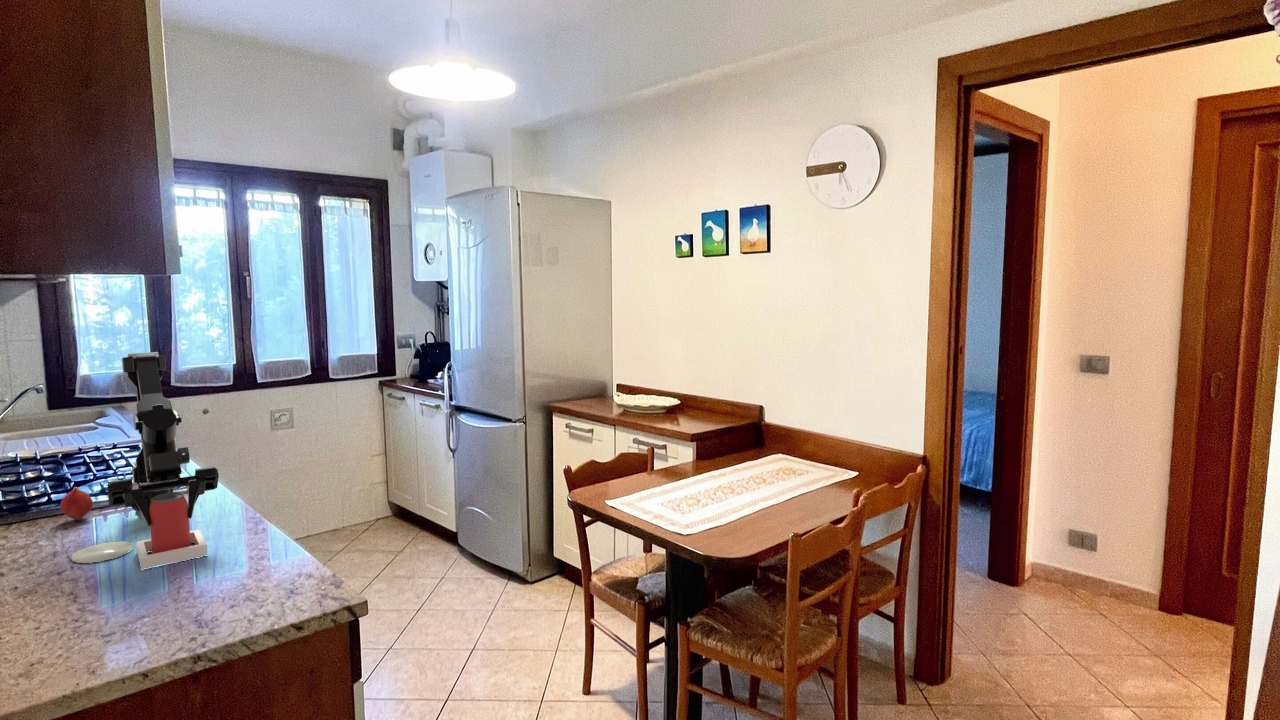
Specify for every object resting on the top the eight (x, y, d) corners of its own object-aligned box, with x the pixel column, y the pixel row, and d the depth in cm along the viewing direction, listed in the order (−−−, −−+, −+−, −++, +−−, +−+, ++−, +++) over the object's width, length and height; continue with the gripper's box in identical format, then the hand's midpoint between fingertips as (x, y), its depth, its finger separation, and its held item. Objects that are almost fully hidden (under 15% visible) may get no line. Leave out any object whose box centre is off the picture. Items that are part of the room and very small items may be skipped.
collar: (137, 553, 139) (136, 541, 139) (200, 540, 146) (199, 529, 146) (141, 570, 131) (140, 558, 130) (207, 556, 138) (206, 544, 138)
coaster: (111, 541, 145) (110, 539, 145) (145, 547, 142) (144, 544, 142) (59, 559, 136) (59, 557, 136) (94, 566, 133) (94, 563, 133)
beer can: (198, 549, 140) (194, 494, 139) (164, 561, 134) (160, 503, 133) (178, 544, 143) (174, 489, 141) (145, 555, 137) (140, 498, 136)
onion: (56, 522, 156) (52, 488, 155) (84, 514, 162) (81, 482, 161) (71, 525, 154) (68, 492, 153) (99, 517, 160) (96, 485, 159)
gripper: (103, 442, 133) (110, 512, 126) (214, 429, 145) (226, 492, 138) (105, 472, 140) (112, 539, 133) (211, 457, 152) (222, 518, 145)
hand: (170, 521), depth 137 cm, fingers closed on beer can, 6 cm apart
